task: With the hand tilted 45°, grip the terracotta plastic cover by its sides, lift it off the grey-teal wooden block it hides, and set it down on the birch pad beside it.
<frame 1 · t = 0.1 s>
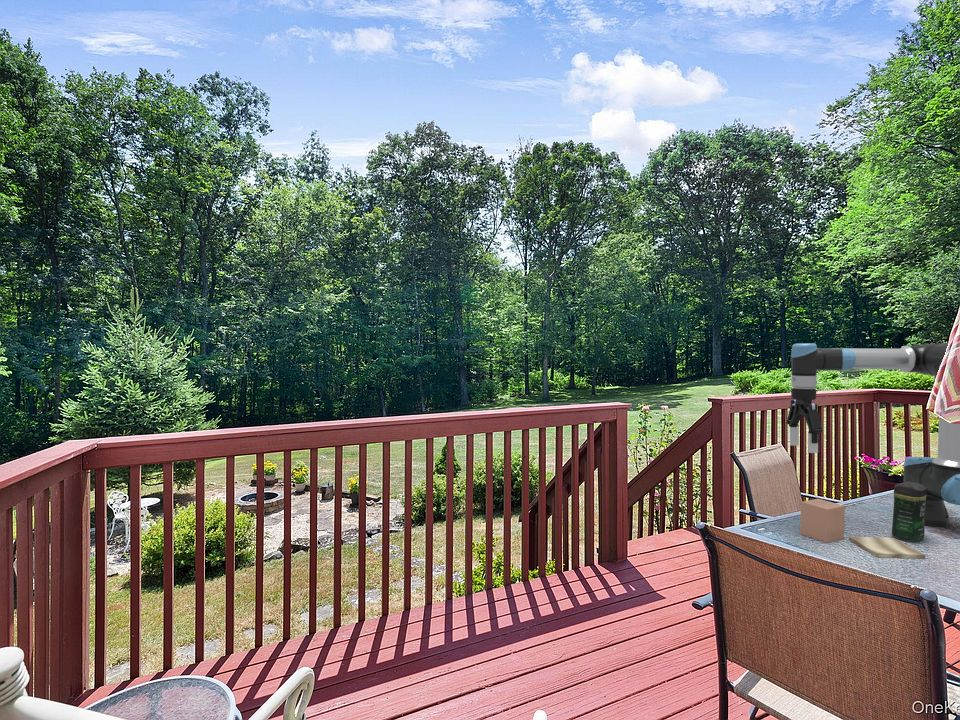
hand: (803, 449, 190), 28 cm above the table, tool pointing down, fingers open, 13 cm apart
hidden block: (821, 530, 183), in the cover
cover: (821, 536, 183), on the table
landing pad: (885, 549, 172), on the table
coffee jar: (908, 538, 182), on the table
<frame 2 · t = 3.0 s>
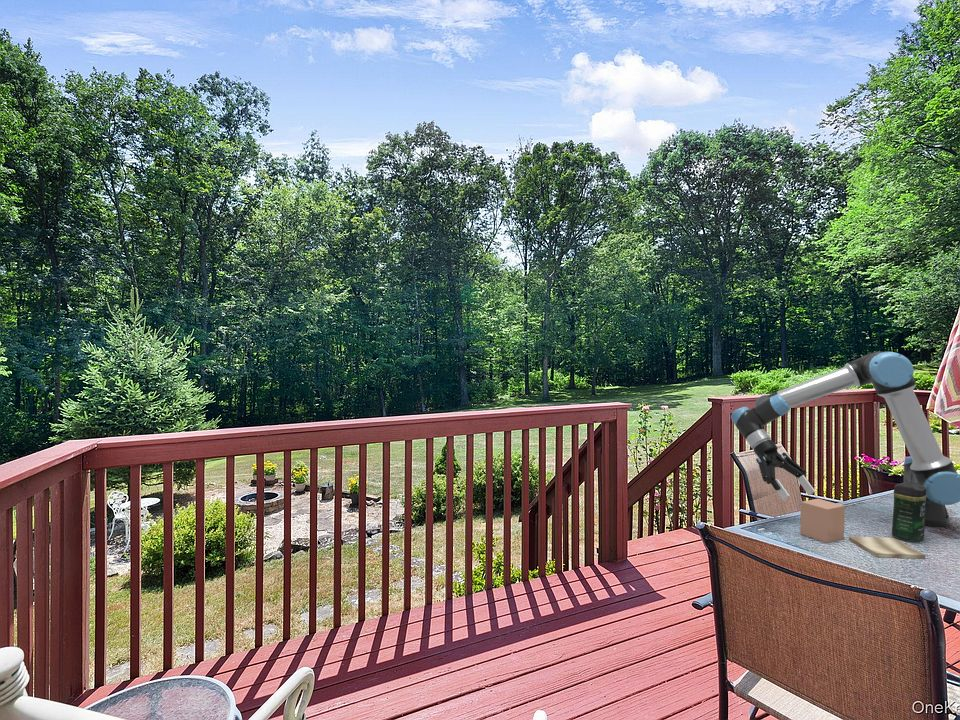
hand: (799, 495, 190), 12 cm above the table, tool tilted 45°, fingers open, 13 cm apart
nothing on the table moved.
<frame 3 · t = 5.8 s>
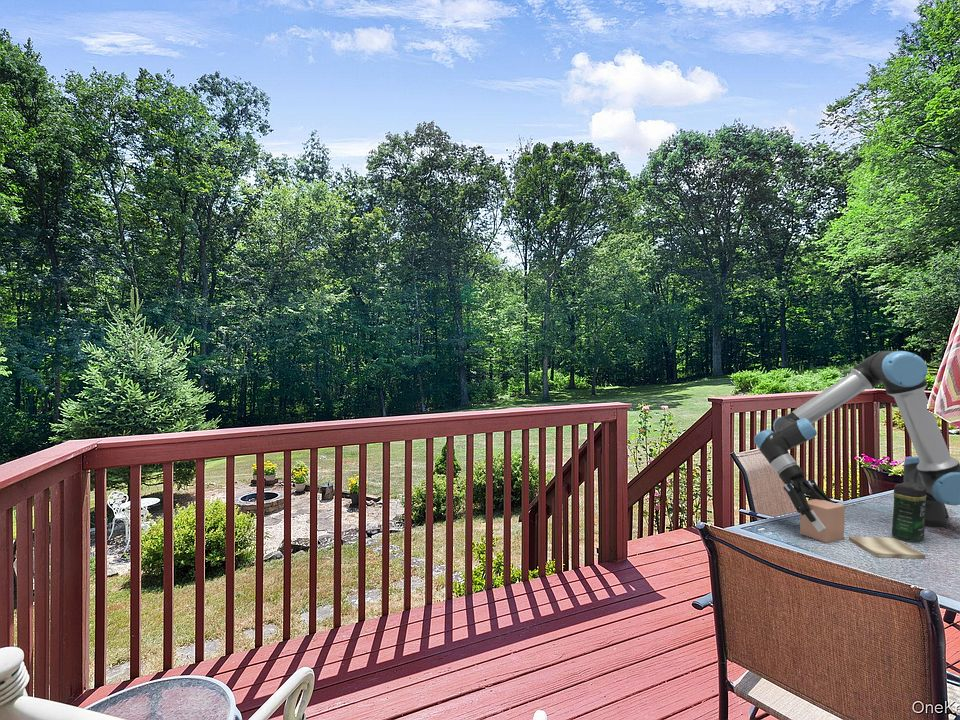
hand: (831, 528, 180), 4 cm above the table, tool tilted 45°, fingers closed on cover, 9 cm apart
cover: (821, 536, 183), on the table, touching gripper
everything else where it was.
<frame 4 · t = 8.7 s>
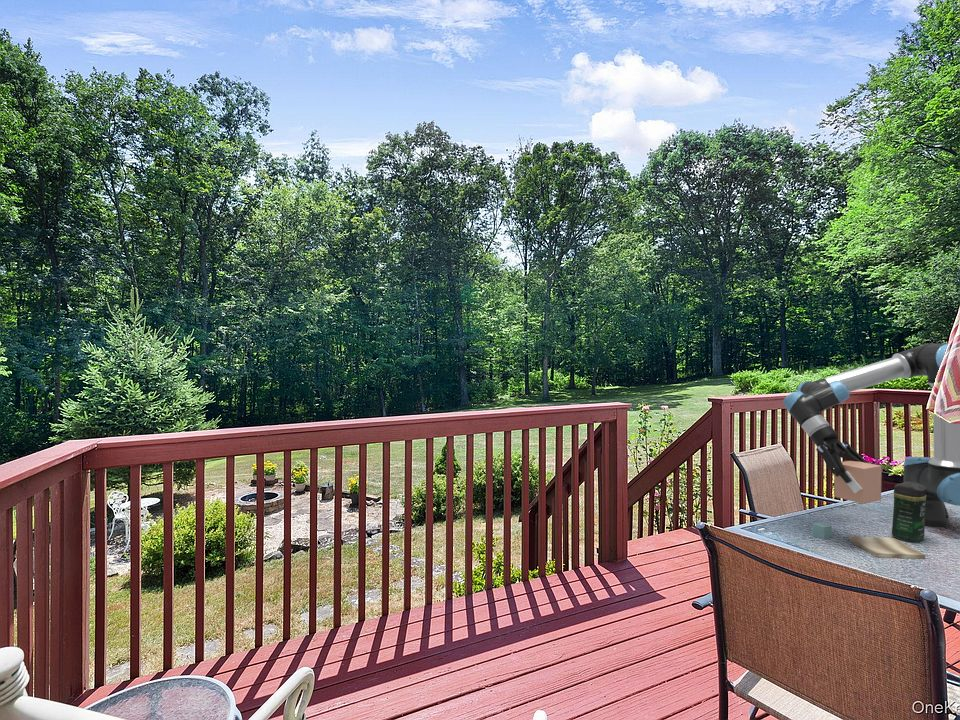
hand: (868, 489, 173), 19 cm above the table, tool tilted 45°, fingers closed on cover, 9 cm apart
cover: (857, 498, 176), point 15 cm above the table, touching gripper
everything else where it was.
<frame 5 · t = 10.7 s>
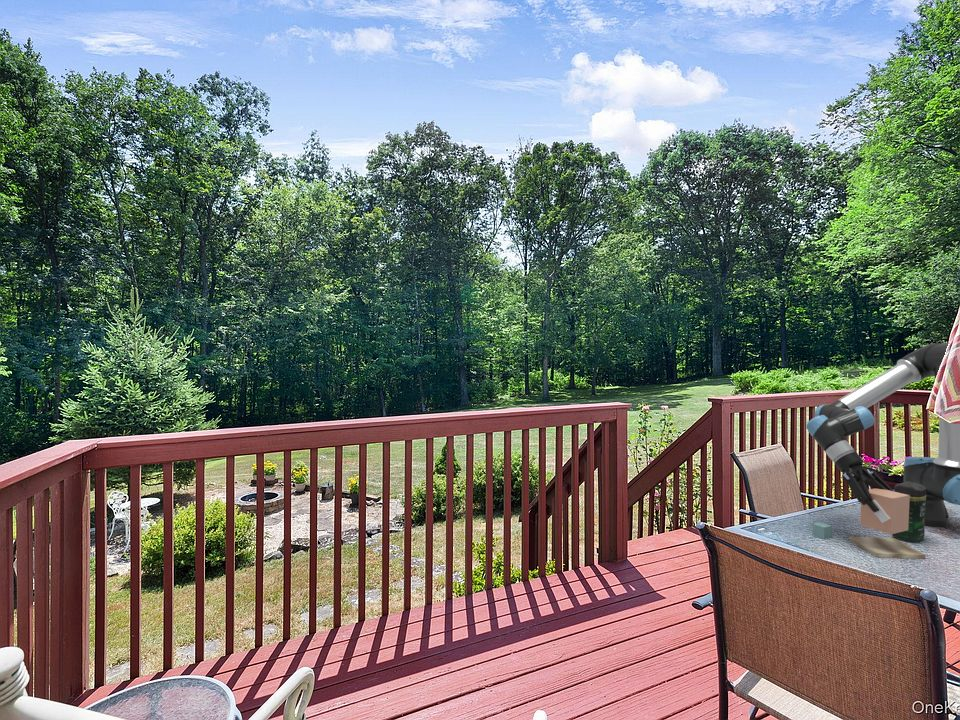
hand: (895, 518, 169), 11 cm above the table, tool tilted 45°, fingers closed on cover, 9 cm apart
cover: (883, 527, 172), point 7 cm above the table, touching gripper
everything else where it was.
when the fingers open (6 cm above the table, at t = 12.0 s): cover drops 1 cm, resting on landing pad.
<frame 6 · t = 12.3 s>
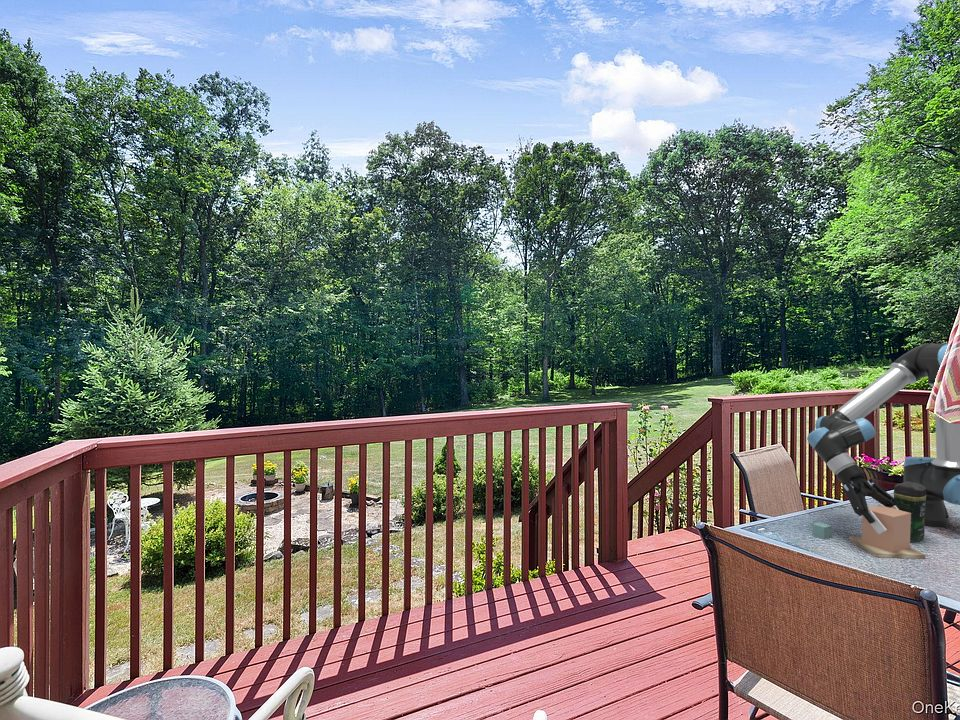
hand: (895, 529, 170), 7 cm above the table, tool tilted 45°, fingers open, 12 cm apart
cover: (885, 545, 172), point 1 cm above the table, touching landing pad
everything else where it was.
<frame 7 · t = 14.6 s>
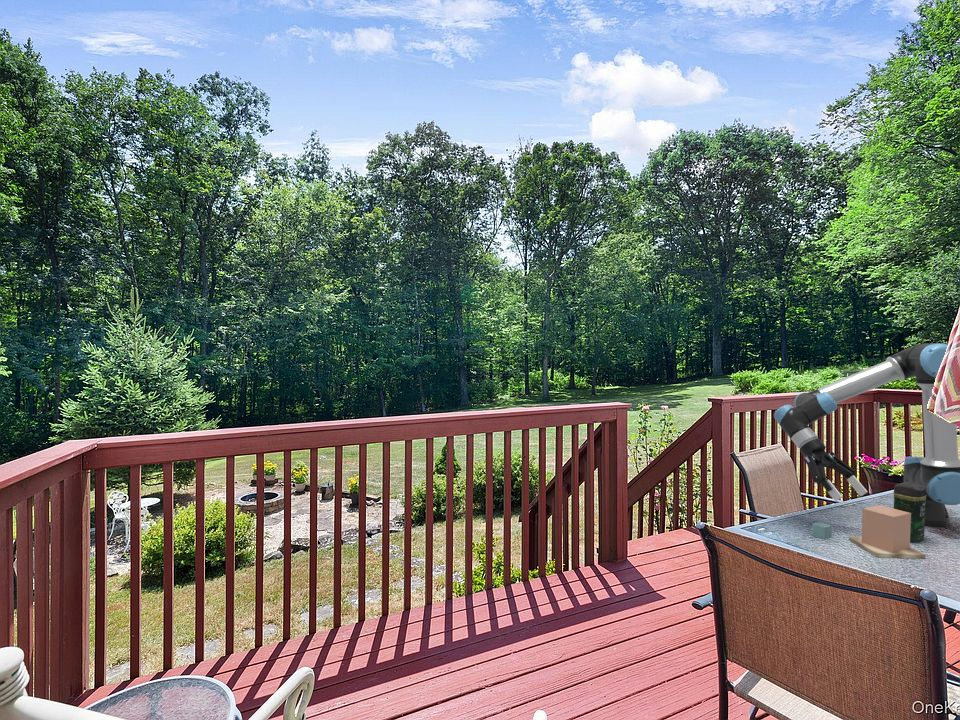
hand: (851, 496, 181), 14 cm above the table, tool tilted 45°, fingers open, 13 cm apart
nothing on the table moved.
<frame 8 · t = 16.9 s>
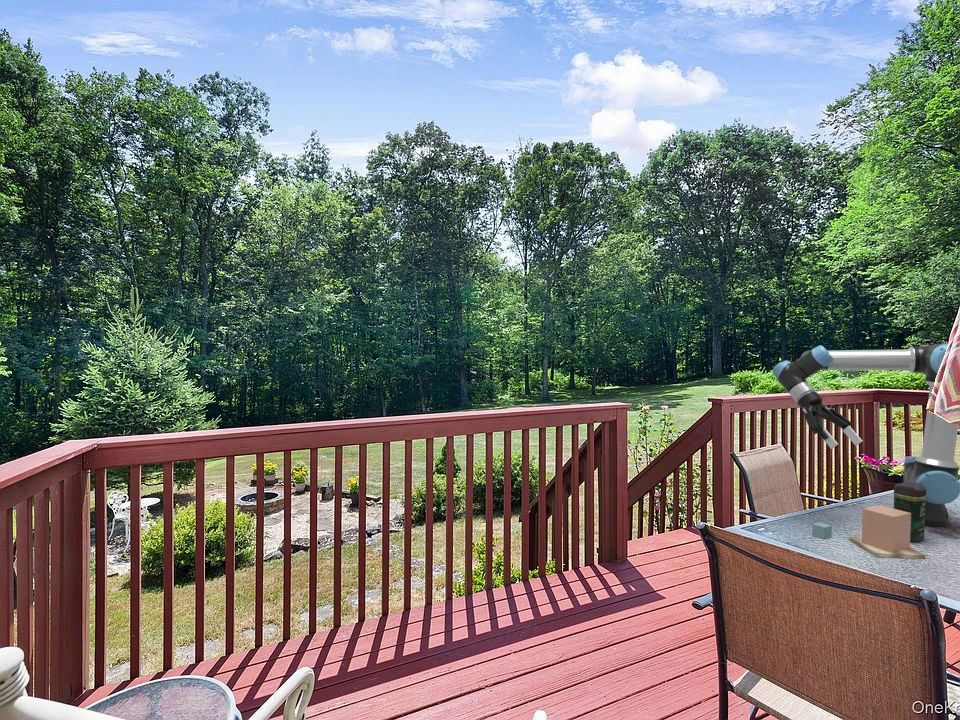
hand: (847, 445, 188), 30 cm above the table, tool tilted 45°, fingers open, 13 cm apart
nothing on the table moved.
at the end: cover inside the target area on the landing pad (0.1 cm from its centre), point 1.2 cm above the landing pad's base; cover tilted 0°; the gripper is holding nothing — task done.
